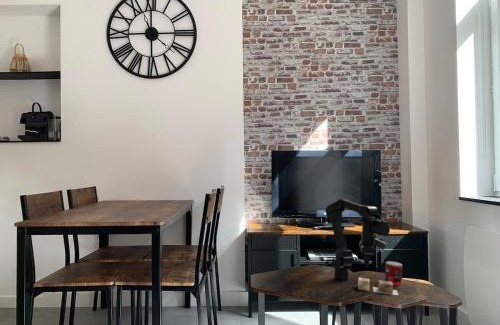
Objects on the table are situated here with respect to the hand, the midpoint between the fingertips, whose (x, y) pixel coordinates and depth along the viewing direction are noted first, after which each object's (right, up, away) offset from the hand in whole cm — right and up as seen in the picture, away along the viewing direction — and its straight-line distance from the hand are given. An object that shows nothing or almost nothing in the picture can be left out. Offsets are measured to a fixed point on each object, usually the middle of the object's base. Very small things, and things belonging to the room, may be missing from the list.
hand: (365, 264), depth 182 cm
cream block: (+9, -12, -2) cm, 15 cm away
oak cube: (-1, -12, 0) cm, 12 cm away
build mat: (+9, -13, -2) cm, 15 cm away
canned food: (+17, -14, +12) cm, 25 cm away
